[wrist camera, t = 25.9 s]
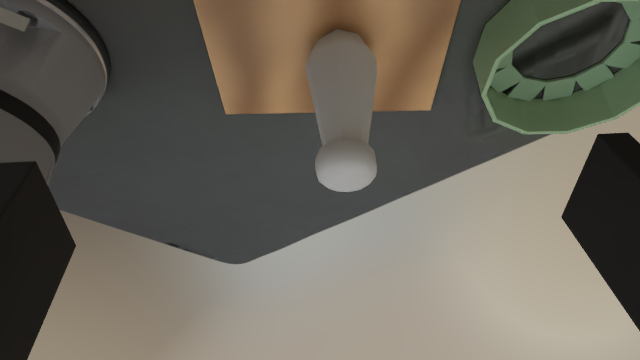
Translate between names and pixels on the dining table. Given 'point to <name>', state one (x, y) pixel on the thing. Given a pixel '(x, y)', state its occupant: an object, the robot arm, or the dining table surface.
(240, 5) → the wooden board
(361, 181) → the salt shaker
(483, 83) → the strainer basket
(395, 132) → the dining table surface
